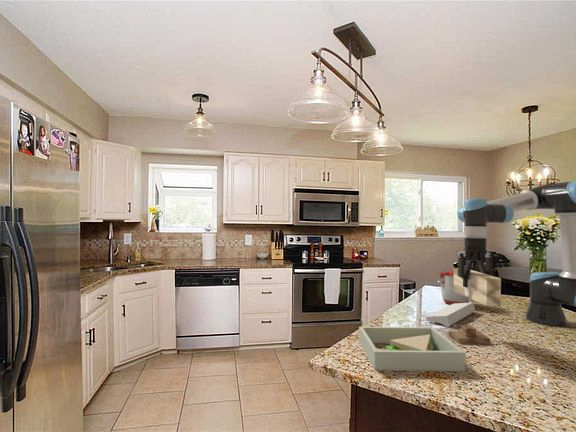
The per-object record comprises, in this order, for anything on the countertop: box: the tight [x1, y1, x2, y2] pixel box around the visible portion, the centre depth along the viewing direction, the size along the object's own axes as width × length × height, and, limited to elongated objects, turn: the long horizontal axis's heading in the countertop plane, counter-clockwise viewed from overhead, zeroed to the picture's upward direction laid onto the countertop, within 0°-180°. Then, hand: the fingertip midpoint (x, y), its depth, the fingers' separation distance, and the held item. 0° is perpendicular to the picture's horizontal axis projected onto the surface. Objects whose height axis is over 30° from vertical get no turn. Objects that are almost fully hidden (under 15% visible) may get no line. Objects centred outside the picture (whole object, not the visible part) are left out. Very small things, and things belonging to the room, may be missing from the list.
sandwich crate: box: [358, 326, 466, 372], centre depth 112 cm, size 28×23×6 cm
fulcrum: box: [448, 325, 491, 345], centre depth 127 cm, size 12×8×5 cm, turn 89°
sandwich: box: [384, 334, 435, 351], centre depth 113 cm, size 15×20×5 cm
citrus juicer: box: [437, 268, 470, 305], centre depth 181 cm, size 16×17×20 cm
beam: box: [453, 267, 502, 307], centre depth 127 cm, size 5×24×10 cm, turn 179°
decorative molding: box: [425, 301, 476, 328], centre depth 156 cm, size 34×5×10 cm
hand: (474, 295), depth 127 cm, fingers closed on beam, 5 cm apart
